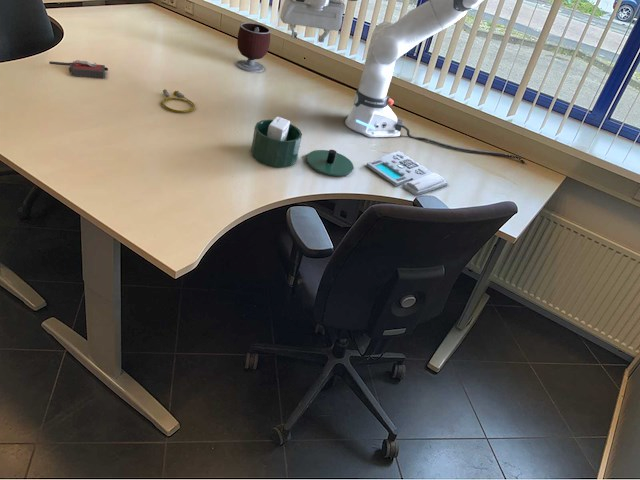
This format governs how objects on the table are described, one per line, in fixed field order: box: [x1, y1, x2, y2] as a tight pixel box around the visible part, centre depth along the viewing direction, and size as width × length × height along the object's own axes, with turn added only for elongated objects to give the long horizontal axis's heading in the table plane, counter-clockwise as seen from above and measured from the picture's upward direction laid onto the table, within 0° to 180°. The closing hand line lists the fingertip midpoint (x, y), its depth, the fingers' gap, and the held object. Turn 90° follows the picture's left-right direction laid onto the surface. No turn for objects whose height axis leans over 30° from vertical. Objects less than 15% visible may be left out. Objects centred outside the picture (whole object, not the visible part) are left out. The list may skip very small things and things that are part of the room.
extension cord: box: [160, 89, 196, 114], centre depth 198 cm, size 12×16×2 cm
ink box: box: [267, 116, 291, 141], centre depth 179 cm, size 8×5×12 cm, turn 166°
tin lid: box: [306, 149, 354, 177], centre depth 185 cm, size 16×16×5 cm
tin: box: [250, 118, 303, 169], centre depth 180 cm, size 15×15×10 cm
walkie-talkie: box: [48, 59, 109, 79], centre depth 201 cm, size 9×4×20 cm
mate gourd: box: [235, 22, 271, 73], centre depth 237 cm, size 16×14×20 cm
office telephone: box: [366, 150, 449, 196], centre depth 192 cm, size 23×3×20 cm
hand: (307, 40), depth 182 cm, fingers open, 8 cm apart
